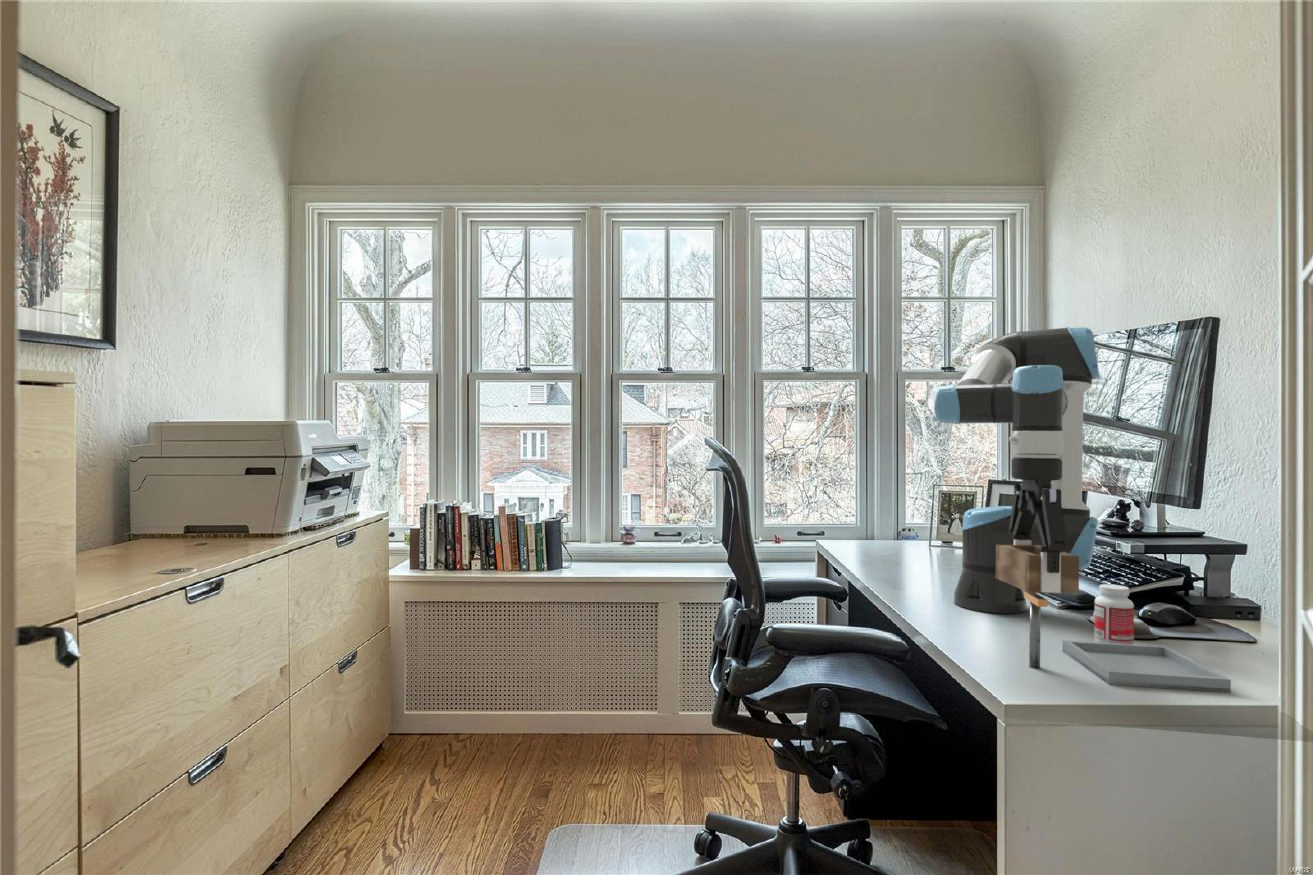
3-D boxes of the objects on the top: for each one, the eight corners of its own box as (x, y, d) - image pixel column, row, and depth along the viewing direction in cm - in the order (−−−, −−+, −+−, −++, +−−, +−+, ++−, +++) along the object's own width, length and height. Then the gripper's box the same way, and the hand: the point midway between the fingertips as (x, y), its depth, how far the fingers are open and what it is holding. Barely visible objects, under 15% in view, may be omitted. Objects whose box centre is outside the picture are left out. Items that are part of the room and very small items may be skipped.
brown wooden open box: (995, 578, 119) (995, 544, 119) (1047, 578, 118) (1047, 545, 118) (1028, 592, 108) (1029, 555, 108) (1086, 593, 107) (1086, 556, 107)
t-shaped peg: (1022, 660, 116) (1023, 590, 116) (1032, 661, 116) (1033, 591, 116) (1037, 672, 110) (1037, 599, 110) (1047, 673, 109) (1048, 599, 109)
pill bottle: (1139, 646, 125) (1140, 587, 125) (1125, 651, 122) (1125, 591, 122) (1103, 638, 130) (1103, 581, 130) (1088, 642, 127) (1088, 585, 127)
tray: (1062, 651, 122) (1062, 640, 122) (1166, 657, 119) (1166, 646, 119) (1108, 684, 105) (1108, 671, 105) (1230, 692, 102) (1230, 679, 102)
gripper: (990, 454, 125) (989, 569, 125) (1040, 458, 102) (1039, 599, 102) (1033, 454, 124) (1032, 570, 124) (1094, 459, 100) (1093, 602, 101)
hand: (1035, 583), depth 113 cm, fingers closed on brown wooden open box, 12 cm apart
